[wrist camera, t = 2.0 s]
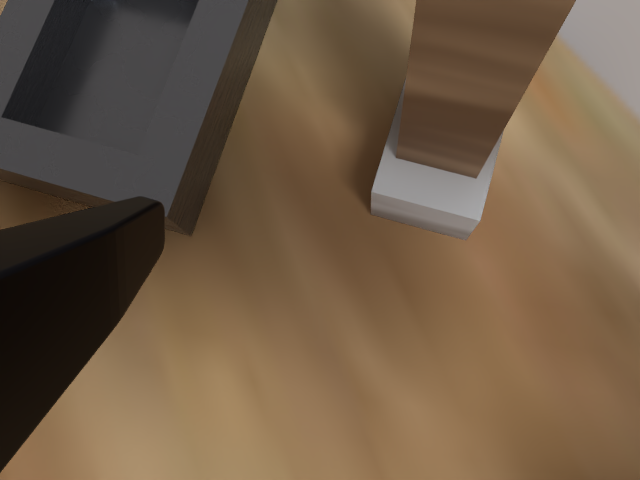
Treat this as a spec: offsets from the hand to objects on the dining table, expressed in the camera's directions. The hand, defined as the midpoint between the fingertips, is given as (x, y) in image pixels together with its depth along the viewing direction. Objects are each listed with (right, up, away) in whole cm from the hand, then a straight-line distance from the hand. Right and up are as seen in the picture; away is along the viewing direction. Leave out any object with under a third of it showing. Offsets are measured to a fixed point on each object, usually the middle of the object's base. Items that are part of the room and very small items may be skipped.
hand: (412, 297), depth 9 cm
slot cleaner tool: (+3, +4, +15) cm, 16 cm away
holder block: (-10, +8, +17) cm, 21 cm away
